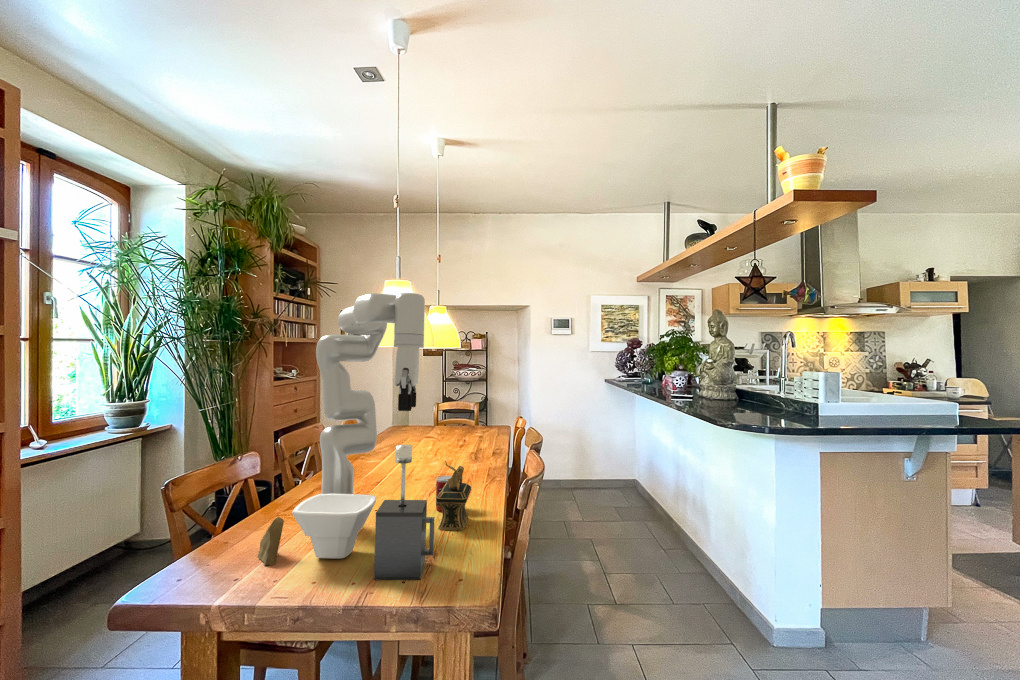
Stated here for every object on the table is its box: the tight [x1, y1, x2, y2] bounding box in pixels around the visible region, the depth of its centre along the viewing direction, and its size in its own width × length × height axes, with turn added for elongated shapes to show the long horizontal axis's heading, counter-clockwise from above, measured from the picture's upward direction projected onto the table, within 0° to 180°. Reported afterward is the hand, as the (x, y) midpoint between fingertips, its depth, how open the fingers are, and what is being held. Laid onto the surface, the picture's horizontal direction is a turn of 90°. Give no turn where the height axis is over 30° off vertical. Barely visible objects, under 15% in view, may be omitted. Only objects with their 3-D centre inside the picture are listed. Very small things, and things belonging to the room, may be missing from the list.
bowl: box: [291, 493, 377, 559], centre depth 138 cm, size 19×19×14 cm
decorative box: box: [435, 460, 472, 531], centre depth 165 cm, size 20×10×20 cm, turn 179°
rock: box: [257, 516, 285, 566], centre depth 135 cm, size 11×9×10 cm
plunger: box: [395, 444, 413, 507], centre depth 130 cm, size 9×9×20 cm
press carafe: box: [373, 499, 435, 581], centre depth 129 cm, size 14×11×16 cm
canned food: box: [435, 475, 452, 513], centre depth 182 cm, size 8×8×11 cm
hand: (407, 408), depth 131 cm, fingers open, 9 cm apart
